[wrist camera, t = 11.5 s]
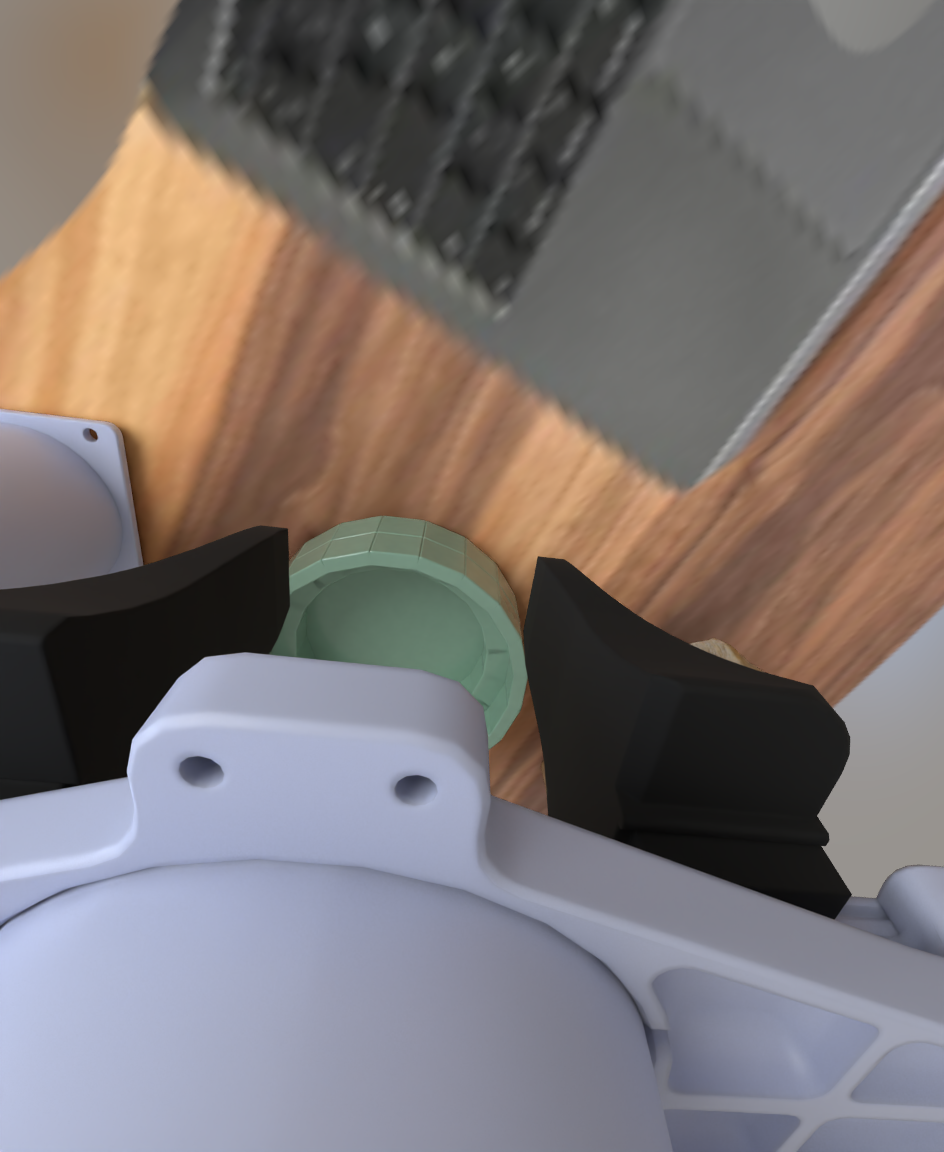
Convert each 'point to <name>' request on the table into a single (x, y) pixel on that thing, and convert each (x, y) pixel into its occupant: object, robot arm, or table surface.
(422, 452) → the table surface
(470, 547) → the bowl
